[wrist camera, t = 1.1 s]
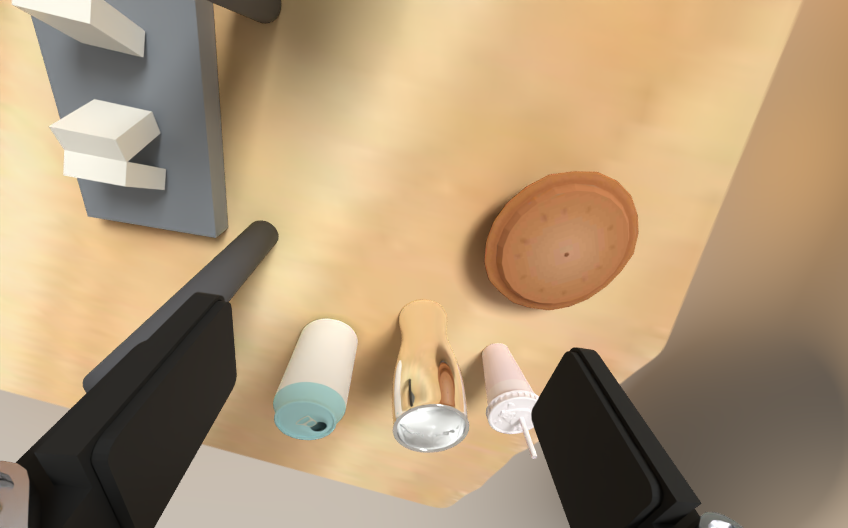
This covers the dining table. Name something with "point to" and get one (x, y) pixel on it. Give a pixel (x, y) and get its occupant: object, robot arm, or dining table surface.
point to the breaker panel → (170, 104)
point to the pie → (561, 240)
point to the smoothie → (507, 394)
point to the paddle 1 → (89, 23)
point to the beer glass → (427, 382)
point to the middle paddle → (106, 130)
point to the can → (316, 380)
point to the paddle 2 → (113, 171)
